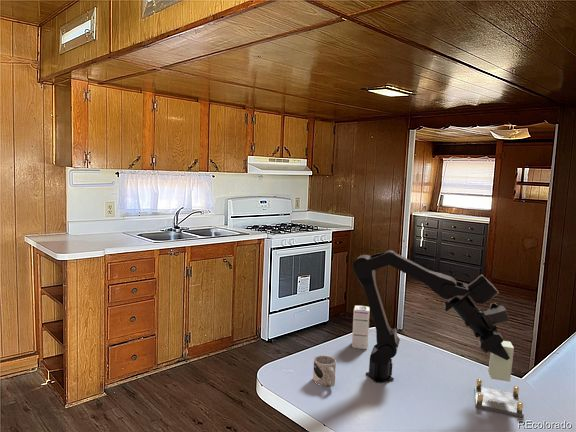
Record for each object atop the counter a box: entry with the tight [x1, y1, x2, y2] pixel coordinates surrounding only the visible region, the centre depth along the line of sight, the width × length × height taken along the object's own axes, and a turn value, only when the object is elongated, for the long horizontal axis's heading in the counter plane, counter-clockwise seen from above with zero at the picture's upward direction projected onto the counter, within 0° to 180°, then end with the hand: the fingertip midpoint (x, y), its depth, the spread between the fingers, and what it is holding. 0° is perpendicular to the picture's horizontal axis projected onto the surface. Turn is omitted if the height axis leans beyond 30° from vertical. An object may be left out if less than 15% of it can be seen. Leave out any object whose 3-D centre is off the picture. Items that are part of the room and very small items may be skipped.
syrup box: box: [351, 305, 371, 350], centre depth 165 cm, size 6×6×14 cm
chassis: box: [474, 378, 525, 419], centre depth 128 cm, size 12×12×3 cm
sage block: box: [488, 340, 515, 382], centre depth 130 cm, size 5×5×10 cm
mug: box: [312, 355, 337, 388], centre depth 135 cm, size 10×7×7 cm
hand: (506, 355), depth 129 cm, fingers closed on sage block, 5 cm apart
